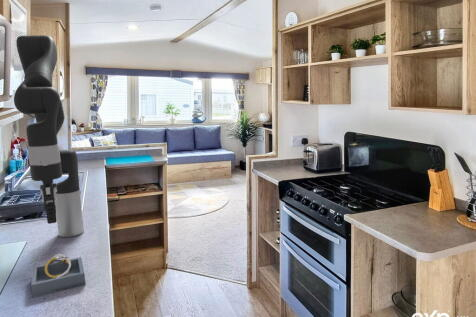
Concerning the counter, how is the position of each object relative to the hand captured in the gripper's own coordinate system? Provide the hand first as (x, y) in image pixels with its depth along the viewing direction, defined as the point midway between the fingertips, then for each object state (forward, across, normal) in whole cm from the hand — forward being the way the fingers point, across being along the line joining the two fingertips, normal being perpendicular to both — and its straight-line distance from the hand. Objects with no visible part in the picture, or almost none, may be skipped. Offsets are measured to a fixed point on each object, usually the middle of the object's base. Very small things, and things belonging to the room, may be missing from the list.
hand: (52, 218), depth 99 cm
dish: (+19, 0, 0) cm, 19 cm away
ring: (+18, +1, 0) cm, 18 cm away
